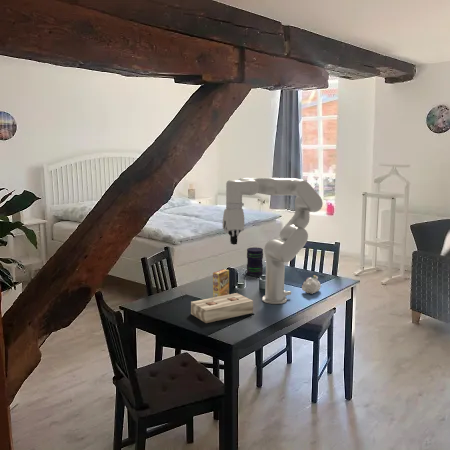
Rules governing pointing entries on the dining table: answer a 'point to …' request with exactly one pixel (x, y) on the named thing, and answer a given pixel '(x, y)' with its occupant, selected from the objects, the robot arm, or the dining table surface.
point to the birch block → (221, 307)
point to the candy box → (221, 283)
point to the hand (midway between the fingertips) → (233, 243)
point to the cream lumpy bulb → (311, 285)
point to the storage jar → (254, 261)
